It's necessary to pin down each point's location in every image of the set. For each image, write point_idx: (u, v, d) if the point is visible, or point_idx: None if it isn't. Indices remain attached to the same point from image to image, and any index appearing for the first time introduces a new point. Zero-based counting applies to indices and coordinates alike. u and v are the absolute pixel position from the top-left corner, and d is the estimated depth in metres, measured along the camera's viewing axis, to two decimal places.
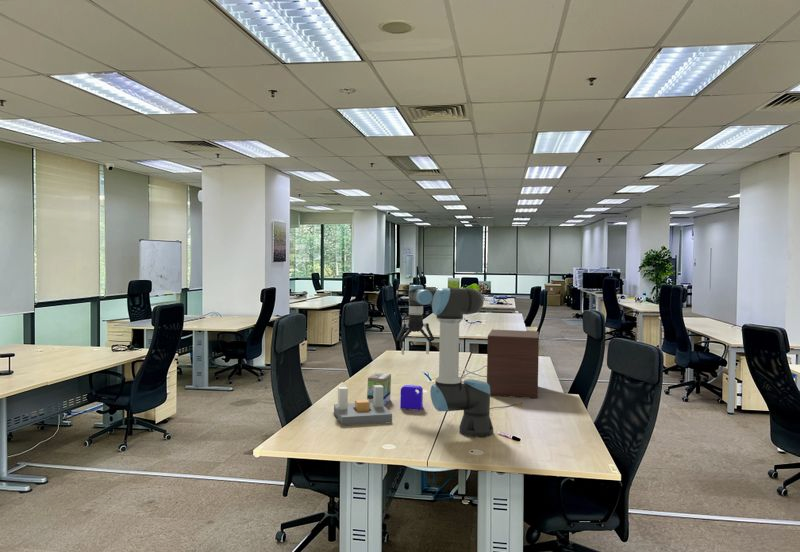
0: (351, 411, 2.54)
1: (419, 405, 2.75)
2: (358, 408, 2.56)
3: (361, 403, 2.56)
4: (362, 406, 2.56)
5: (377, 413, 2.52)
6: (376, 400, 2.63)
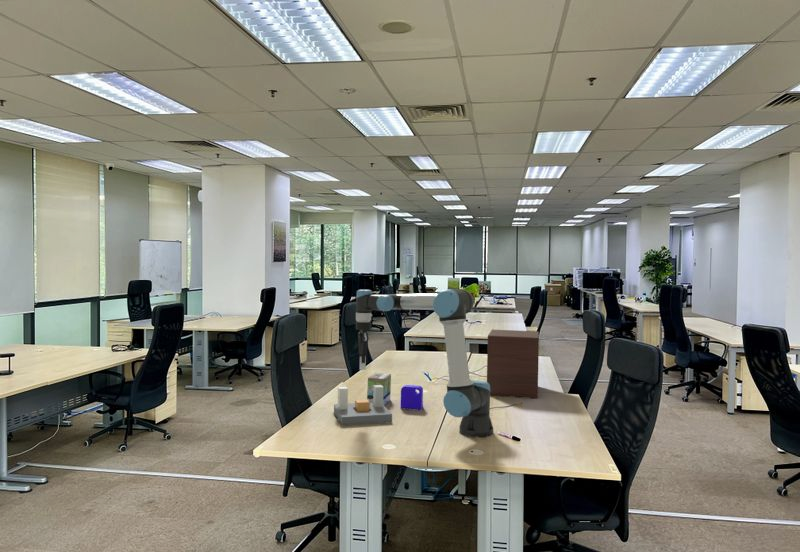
0: (351, 411, 2.54)
1: (419, 405, 2.75)
2: (358, 408, 2.56)
3: (361, 403, 2.56)
4: (362, 406, 2.56)
5: (377, 413, 2.52)
6: (376, 400, 2.63)
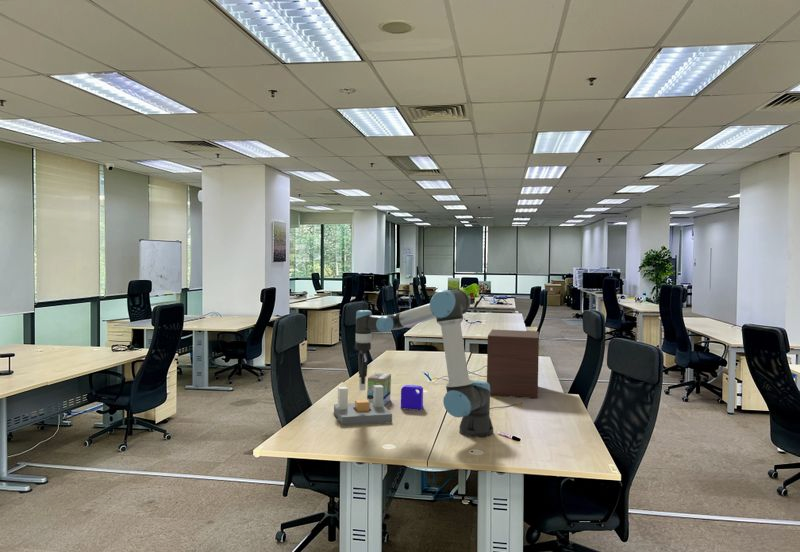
0: (351, 411, 2.54)
1: (419, 405, 2.75)
2: (358, 408, 2.56)
3: (361, 403, 2.56)
4: (362, 406, 2.56)
5: (377, 413, 2.52)
6: (376, 400, 2.63)
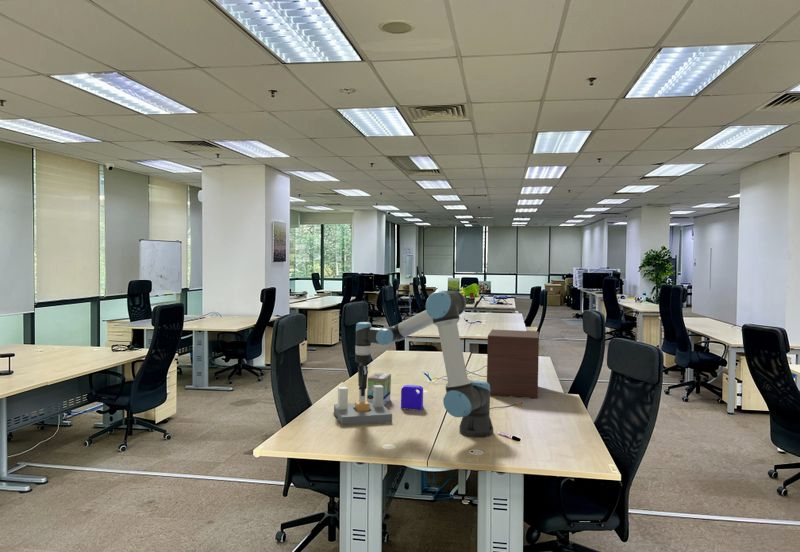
0: (351, 411, 2.54)
1: (420, 405, 2.75)
2: (358, 410, 2.56)
3: (361, 405, 2.56)
4: (362, 408, 2.56)
5: (377, 413, 2.52)
6: (376, 400, 2.63)
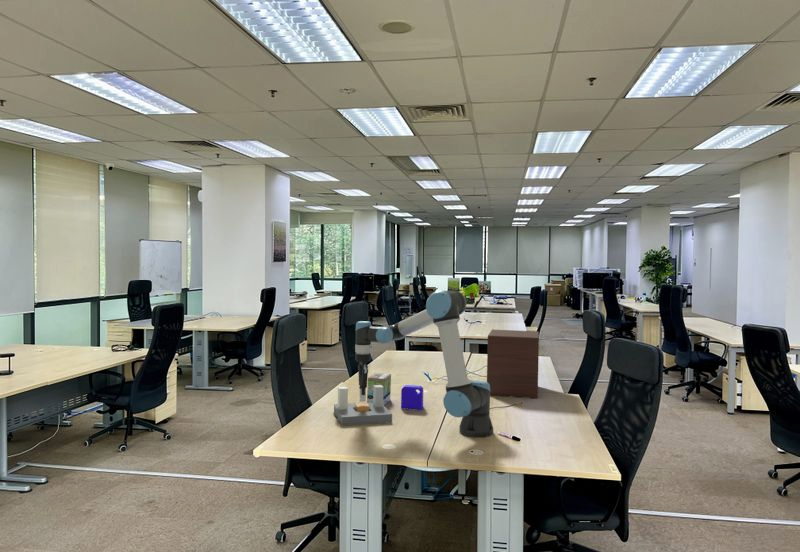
0: (351, 411, 2.54)
1: (420, 405, 2.75)
2: None
3: (361, 407, 2.56)
4: None
5: (377, 413, 2.52)
6: (376, 400, 2.63)
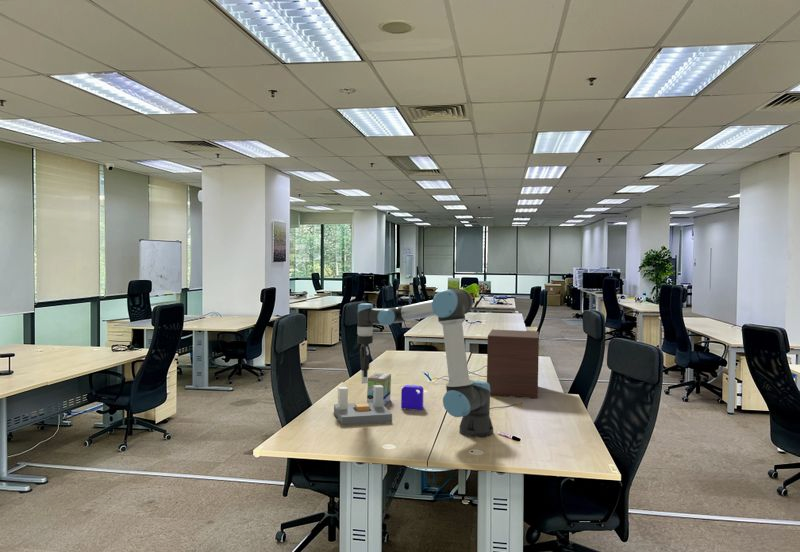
0: (351, 411, 2.54)
1: (420, 405, 2.75)
2: None
3: (361, 407, 2.56)
4: None
5: (377, 413, 2.52)
6: (376, 400, 2.63)
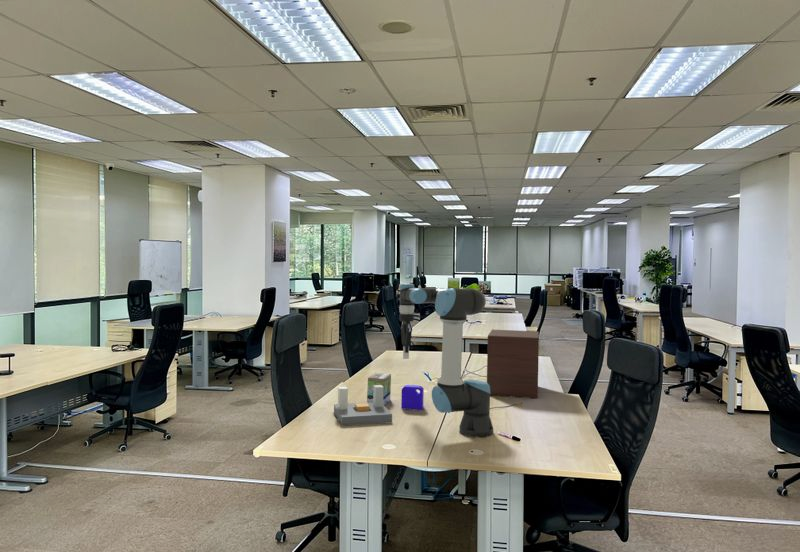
0: (351, 411, 2.54)
1: (420, 405, 2.75)
2: None
3: (361, 407, 2.56)
4: None
5: (377, 413, 2.52)
6: (376, 400, 2.63)
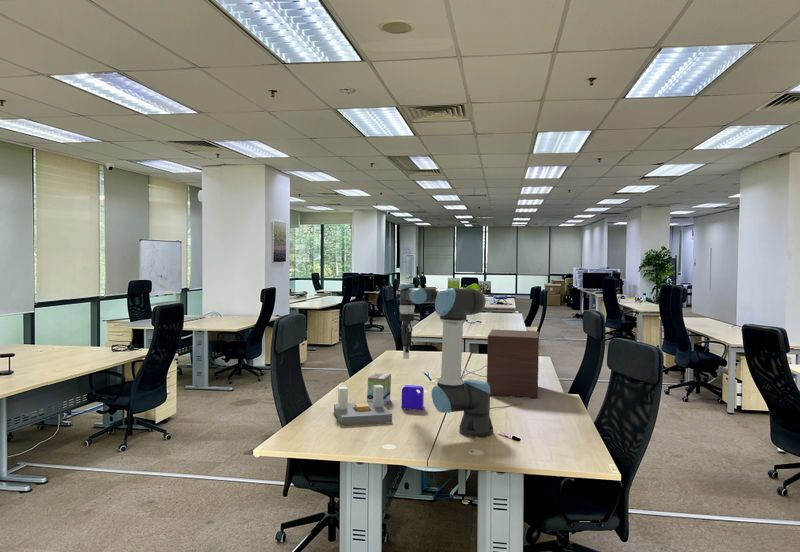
0: (351, 411, 2.54)
1: (420, 405, 2.75)
2: None
3: (361, 407, 2.56)
4: None
5: (377, 413, 2.52)
6: (376, 400, 2.63)
